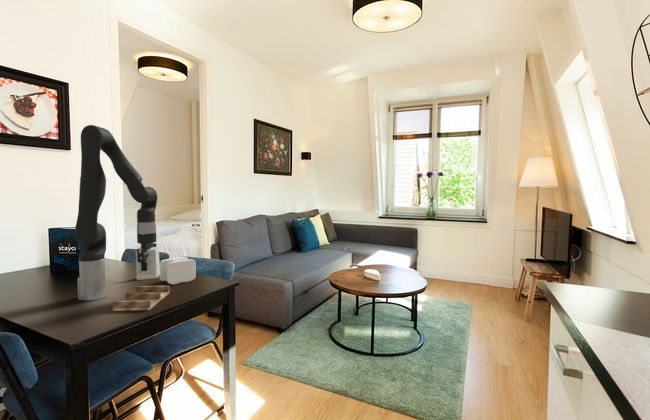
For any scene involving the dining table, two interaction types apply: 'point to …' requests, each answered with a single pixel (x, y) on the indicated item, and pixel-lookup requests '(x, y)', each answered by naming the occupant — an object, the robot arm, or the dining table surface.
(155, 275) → the small box
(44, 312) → the dining table surface
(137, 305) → the slot rack
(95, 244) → the robot arm
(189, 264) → the cable organizer
